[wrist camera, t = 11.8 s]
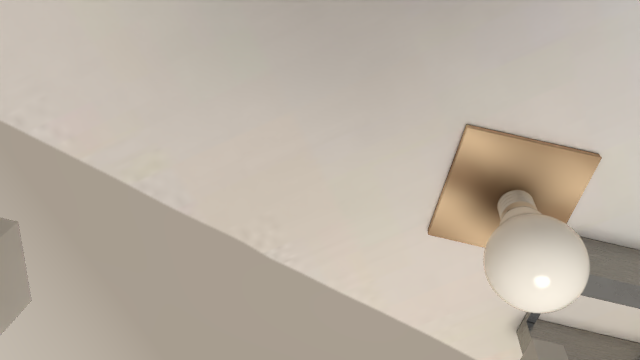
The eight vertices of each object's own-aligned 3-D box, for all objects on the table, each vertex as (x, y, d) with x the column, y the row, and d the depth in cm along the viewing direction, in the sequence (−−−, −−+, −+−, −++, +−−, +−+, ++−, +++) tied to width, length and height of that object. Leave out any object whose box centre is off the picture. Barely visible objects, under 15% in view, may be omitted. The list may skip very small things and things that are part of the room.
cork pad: (466, 124, 38) (467, 127, 37) (598, 154, 37) (601, 157, 37) (427, 230, 43) (428, 234, 42) (544, 257, 42) (545, 261, 42)
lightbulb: (558, 160, 37) (608, 250, 28) (556, 231, 40) (600, 334, 31) (469, 168, 39) (488, 256, 29) (473, 236, 42) (491, 336, 32)
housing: (570, 234, 41) (589, 274, 37) (716, 267, 41) (753, 312, 36) (516, 331, 47) (528, 376, 43) (644, 361, 47) (669, 409, 42)
